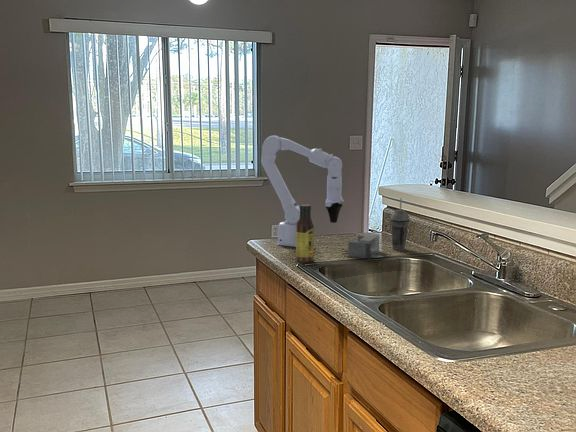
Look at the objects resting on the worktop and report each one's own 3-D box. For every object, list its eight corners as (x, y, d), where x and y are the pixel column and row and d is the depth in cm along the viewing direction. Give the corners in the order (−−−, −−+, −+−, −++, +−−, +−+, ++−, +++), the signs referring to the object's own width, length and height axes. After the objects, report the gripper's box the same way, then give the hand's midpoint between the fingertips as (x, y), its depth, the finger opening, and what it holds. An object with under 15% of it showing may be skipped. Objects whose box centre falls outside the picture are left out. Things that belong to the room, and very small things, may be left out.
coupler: (348, 256, 203) (348, 239, 202) (358, 249, 215) (359, 232, 214) (369, 258, 200) (370, 241, 199) (379, 251, 212) (379, 234, 211)
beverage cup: (407, 247, 219) (409, 196, 215) (409, 251, 211) (411, 199, 208) (388, 246, 219) (390, 196, 216) (389, 251, 212) (391, 199, 209)
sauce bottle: (311, 263, 193) (312, 206, 190) (294, 262, 195) (294, 206, 191) (314, 258, 200) (315, 204, 196) (297, 258, 201) (298, 203, 197)
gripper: (337, 190, 209) (337, 226, 211) (349, 186, 222) (349, 220, 224) (320, 189, 212) (319, 224, 214) (333, 185, 225) (332, 218, 227)
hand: (333, 222), depth 219 cm, fingers closed
